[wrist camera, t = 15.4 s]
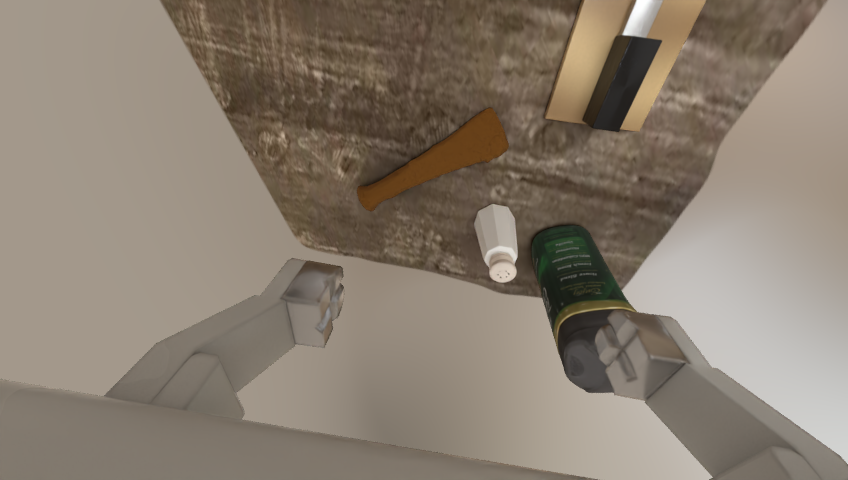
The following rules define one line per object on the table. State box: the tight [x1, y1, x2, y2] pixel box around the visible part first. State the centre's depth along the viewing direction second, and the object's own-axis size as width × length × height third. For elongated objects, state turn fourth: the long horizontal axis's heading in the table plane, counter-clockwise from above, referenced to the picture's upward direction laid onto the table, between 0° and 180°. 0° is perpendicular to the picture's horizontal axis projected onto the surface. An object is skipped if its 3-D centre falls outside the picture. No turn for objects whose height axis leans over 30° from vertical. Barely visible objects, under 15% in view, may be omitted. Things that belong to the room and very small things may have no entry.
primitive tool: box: [357, 108, 509, 211], centre depth 36 cm, size 19×6×4 cm, turn 121°
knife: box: [582, 0, 663, 132], centre depth 25 cm, size 18×3×3 cm, turn 173°
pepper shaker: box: [474, 204, 517, 283], centre depth 36 cm, size 5×5×11 cm
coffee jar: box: [532, 225, 637, 393], centre depth 35 cm, size 10×8×19 cm
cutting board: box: [544, 0, 706, 132], centre depth 26 cm, size 20×10×1 cm, turn 174°
